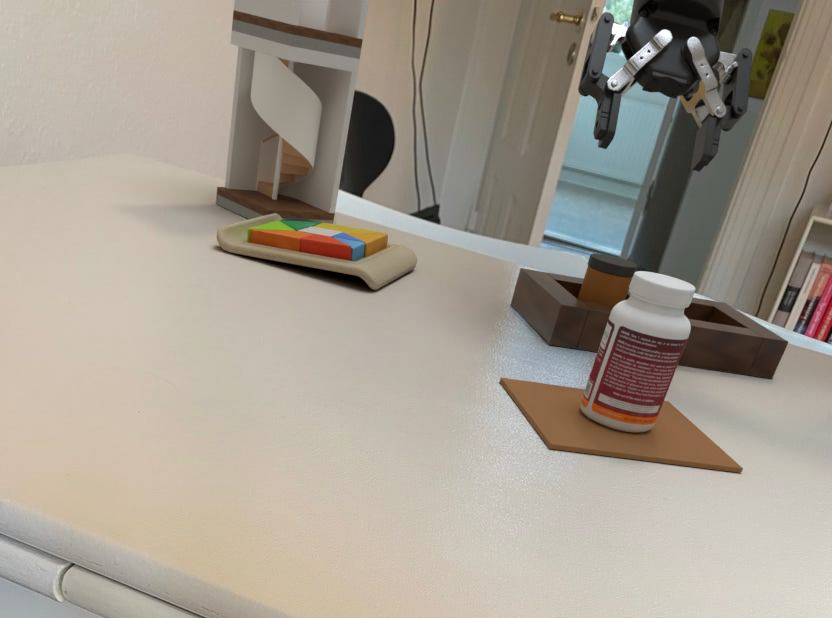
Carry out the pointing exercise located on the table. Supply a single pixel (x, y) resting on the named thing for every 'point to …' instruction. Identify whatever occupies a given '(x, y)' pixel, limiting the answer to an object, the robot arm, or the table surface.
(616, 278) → the spice jar
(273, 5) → the spiral staircase model
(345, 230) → the wooden puzzle
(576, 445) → the cork mat
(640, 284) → the pill bottle
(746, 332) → the bottle rack
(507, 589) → the table surface
